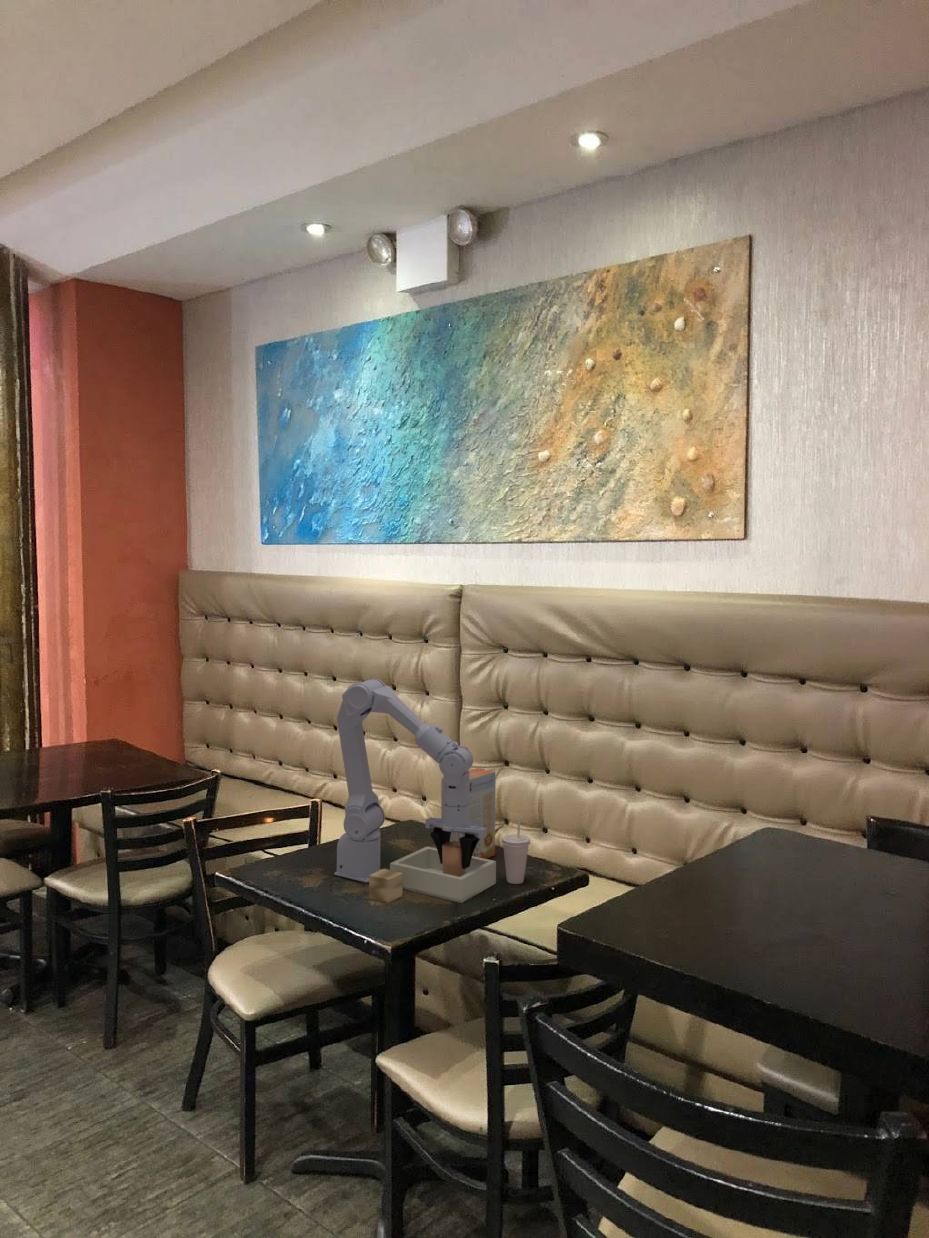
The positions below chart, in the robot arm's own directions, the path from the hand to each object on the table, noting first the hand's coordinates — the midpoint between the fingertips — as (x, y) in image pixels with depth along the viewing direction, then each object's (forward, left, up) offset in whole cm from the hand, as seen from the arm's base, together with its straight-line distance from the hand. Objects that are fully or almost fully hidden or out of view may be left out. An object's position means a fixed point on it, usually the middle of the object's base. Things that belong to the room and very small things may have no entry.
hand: (455, 865), depth 207 cm
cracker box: (-7, +17, -5) cm, 19 cm away
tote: (-3, 0, -5) cm, 6 cm away
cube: (-9, -13, -5) cm, 17 cm away
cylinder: (0, 0, -2) cm, 2 cm away
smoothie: (+9, +11, -5) cm, 15 cm away
